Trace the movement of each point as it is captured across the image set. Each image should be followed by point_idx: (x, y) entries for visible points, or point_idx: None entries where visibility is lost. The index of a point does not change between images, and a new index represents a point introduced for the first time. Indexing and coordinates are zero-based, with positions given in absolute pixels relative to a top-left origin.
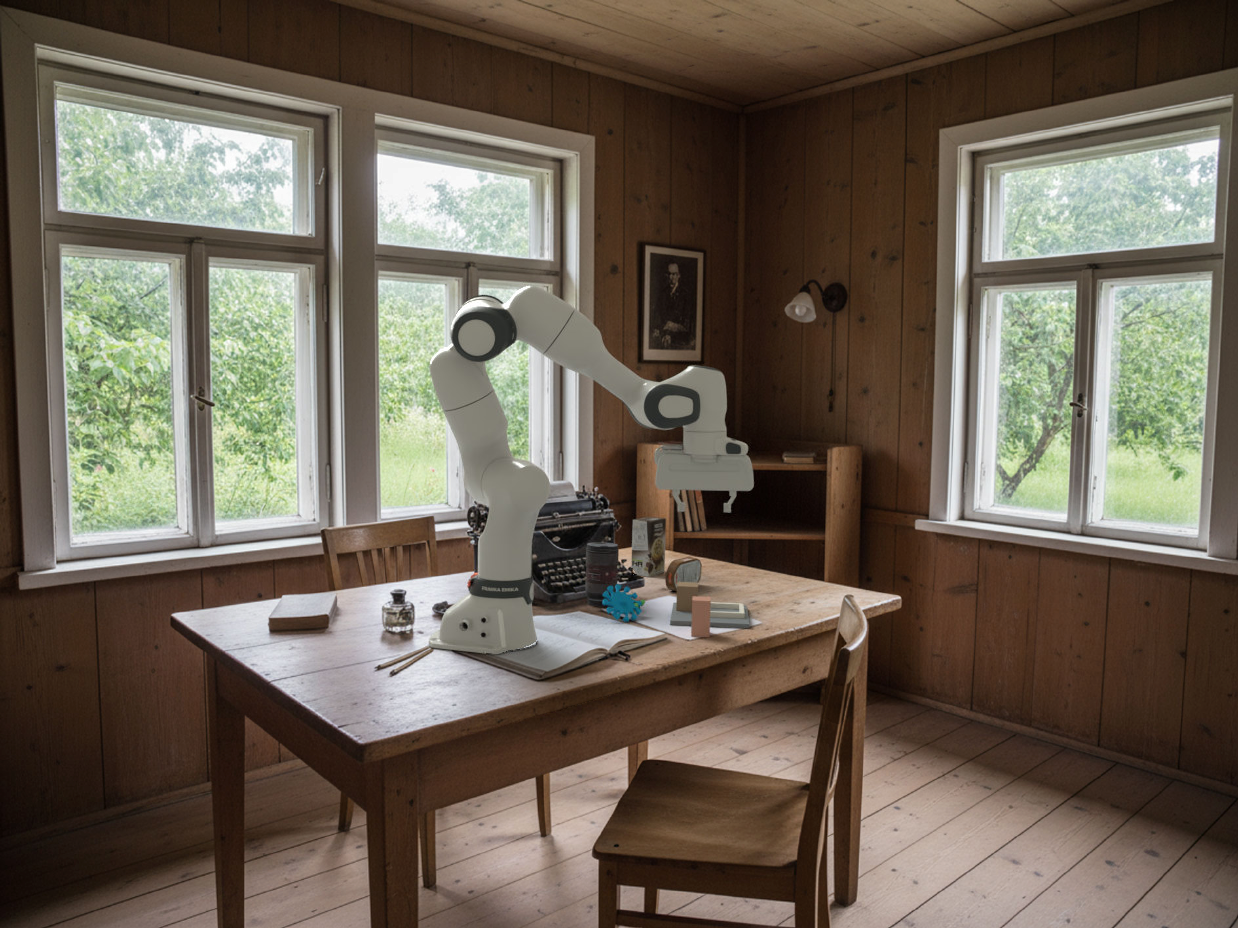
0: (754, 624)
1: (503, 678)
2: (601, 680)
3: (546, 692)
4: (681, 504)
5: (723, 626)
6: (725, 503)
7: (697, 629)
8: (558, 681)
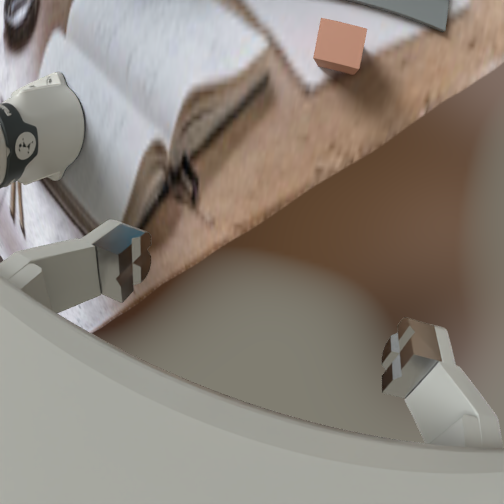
0: (455, 9)
1: None
2: (168, 276)
3: (127, 298)
4: (109, 291)
5: (394, 13)
6: (412, 371)
7: (329, 67)
8: None
